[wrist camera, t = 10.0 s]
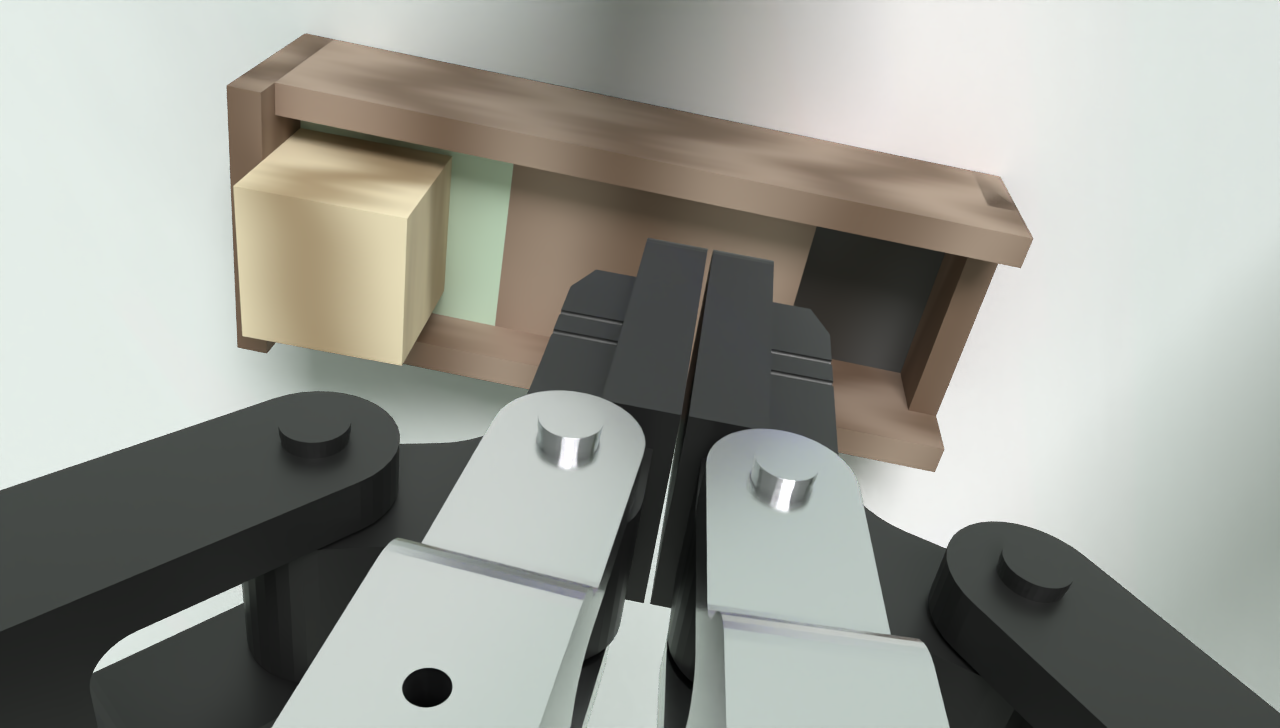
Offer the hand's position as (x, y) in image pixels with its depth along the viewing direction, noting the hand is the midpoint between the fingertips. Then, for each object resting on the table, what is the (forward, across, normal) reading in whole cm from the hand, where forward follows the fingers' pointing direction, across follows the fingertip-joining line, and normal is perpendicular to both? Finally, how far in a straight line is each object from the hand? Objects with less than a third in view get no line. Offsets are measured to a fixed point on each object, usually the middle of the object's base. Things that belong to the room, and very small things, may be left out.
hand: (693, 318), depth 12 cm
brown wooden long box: (+23, +2, +10) cm, 25 cm away
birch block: (+20, +11, +9) cm, 25 cm away
